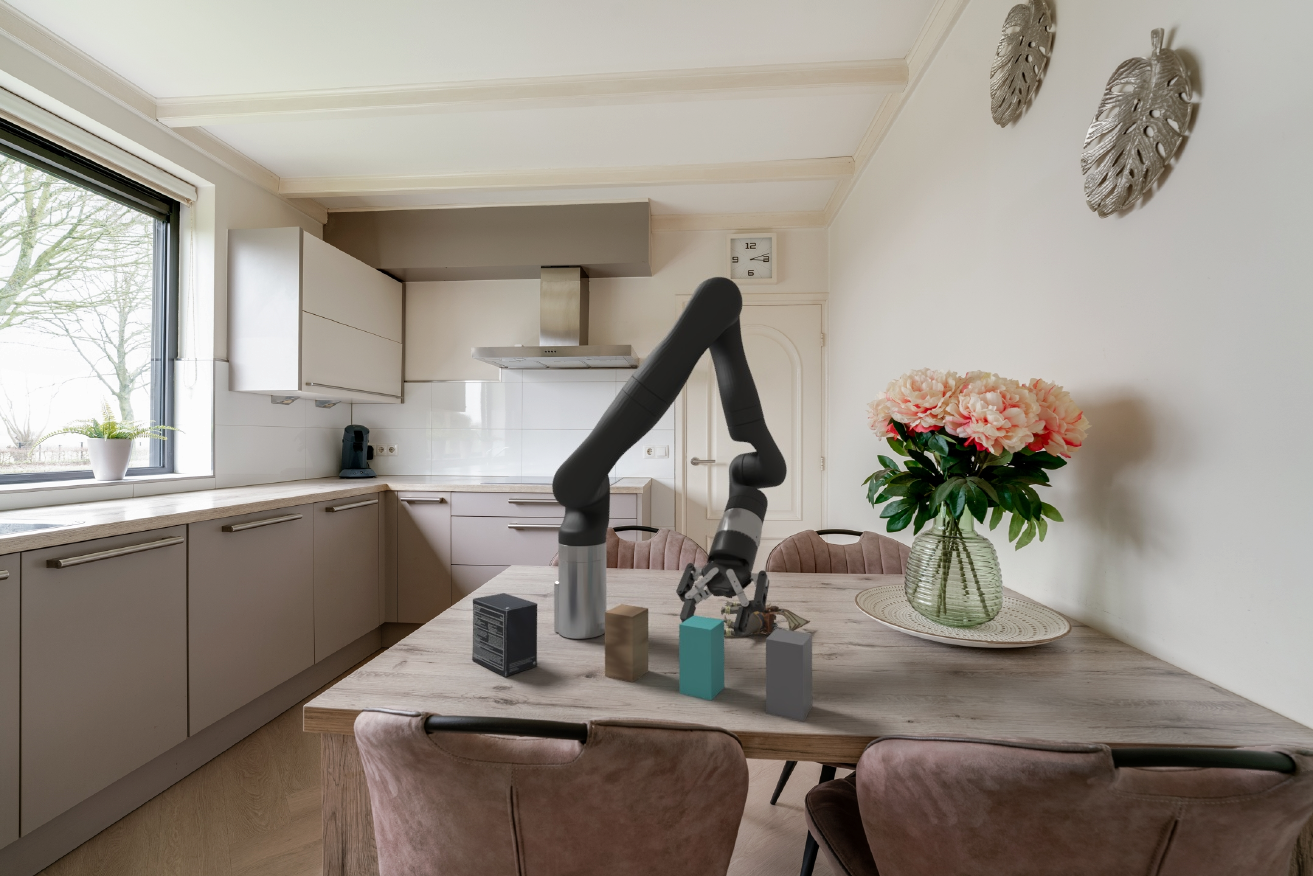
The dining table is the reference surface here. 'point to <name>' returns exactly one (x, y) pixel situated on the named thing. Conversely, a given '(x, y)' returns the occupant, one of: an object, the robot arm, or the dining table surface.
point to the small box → (504, 633)
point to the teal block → (701, 657)
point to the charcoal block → (789, 674)
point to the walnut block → (626, 642)
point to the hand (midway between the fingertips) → (710, 628)
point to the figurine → (762, 619)
